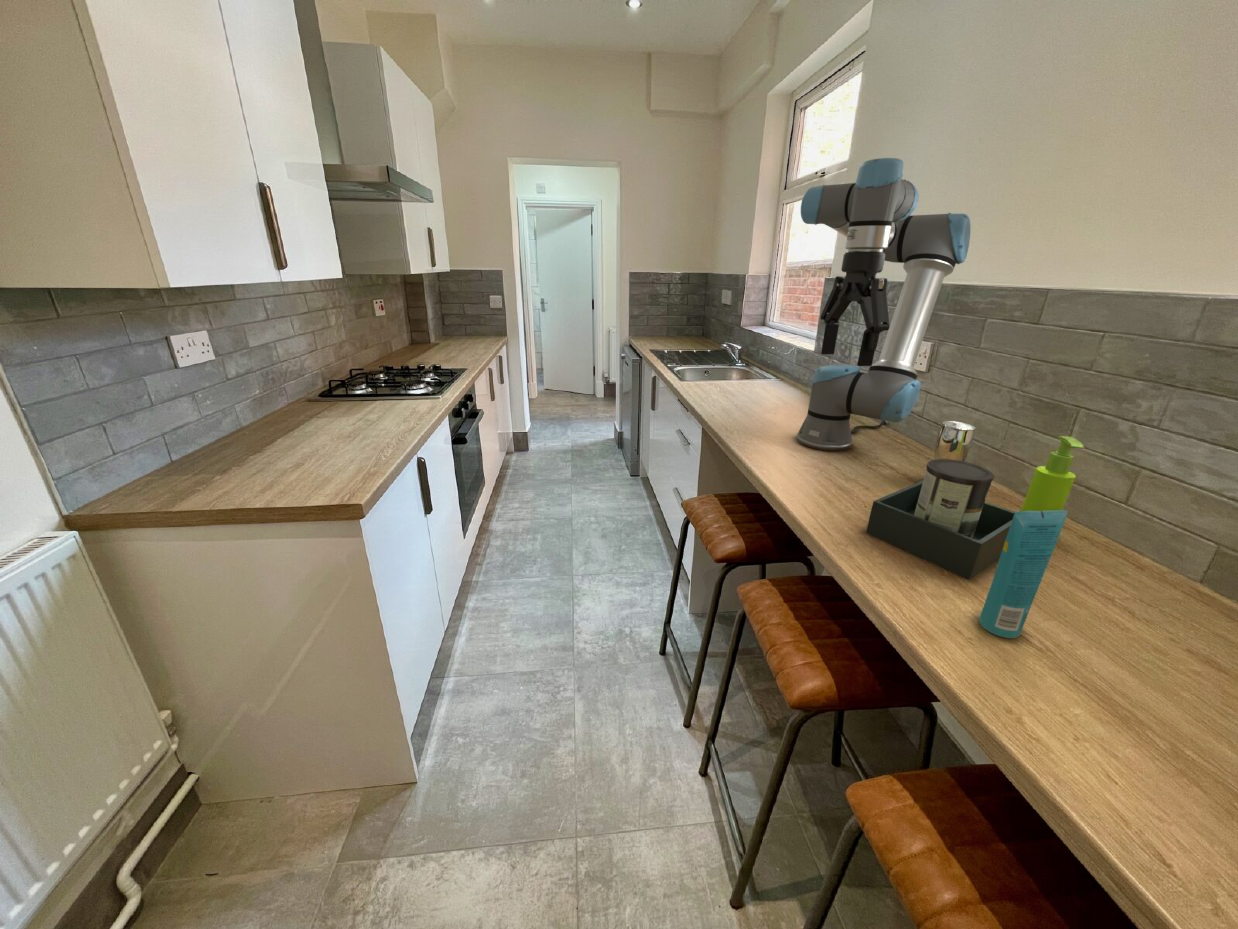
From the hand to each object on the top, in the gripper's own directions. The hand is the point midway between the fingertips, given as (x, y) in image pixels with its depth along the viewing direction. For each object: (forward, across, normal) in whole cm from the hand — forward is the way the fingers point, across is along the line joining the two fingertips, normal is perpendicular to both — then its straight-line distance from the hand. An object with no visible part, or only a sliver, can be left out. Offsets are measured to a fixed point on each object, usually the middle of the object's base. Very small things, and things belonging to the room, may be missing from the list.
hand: (844, 359), depth 104 cm
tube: (+30, +48, 0) cm, 57 cm away
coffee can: (+30, +25, +10) cm, 40 cm away
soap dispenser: (+31, +25, +32) cm, 51 cm away
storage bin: (+30, +25, +10) cm, 41 cm away
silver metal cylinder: (+31, 0, +32) cm, 45 cm away
